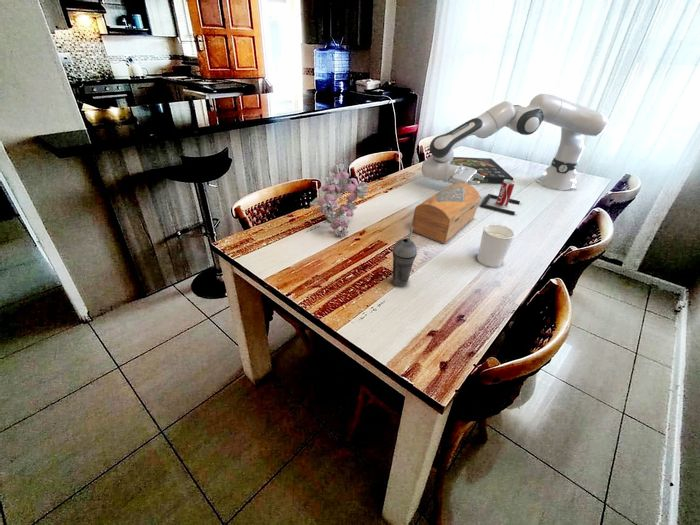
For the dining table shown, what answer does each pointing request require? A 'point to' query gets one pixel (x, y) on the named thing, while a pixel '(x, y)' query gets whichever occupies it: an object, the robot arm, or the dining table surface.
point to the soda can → (505, 193)
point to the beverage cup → (403, 260)
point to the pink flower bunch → (334, 192)
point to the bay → (497, 207)
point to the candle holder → (494, 244)
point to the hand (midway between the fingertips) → (481, 180)
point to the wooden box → (446, 212)
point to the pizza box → (484, 169)
